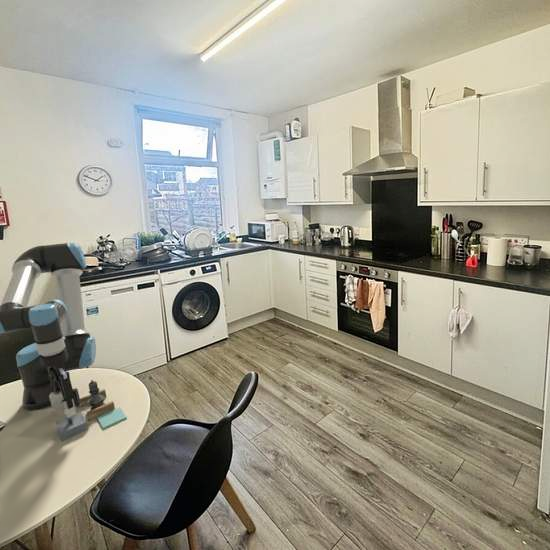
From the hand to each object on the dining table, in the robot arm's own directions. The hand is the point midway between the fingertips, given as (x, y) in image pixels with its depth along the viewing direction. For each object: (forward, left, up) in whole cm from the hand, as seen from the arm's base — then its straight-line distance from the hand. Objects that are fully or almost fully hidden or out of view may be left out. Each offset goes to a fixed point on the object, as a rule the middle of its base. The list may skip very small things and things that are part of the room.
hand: (68, 411), depth 117 cm
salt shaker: (-7, +10, -8) cm, 14 cm away
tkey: (0, 0, -4) cm, 4 cm away
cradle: (-7, +10, -7) cm, 14 cm away
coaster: (+4, +12, -7) cm, 15 cm away
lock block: (0, 0, -7) cm, 7 cm away
